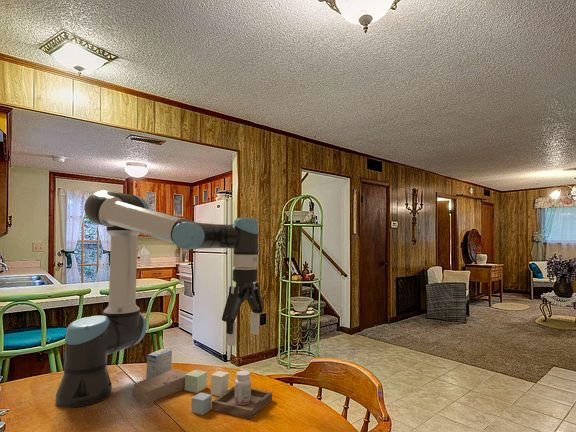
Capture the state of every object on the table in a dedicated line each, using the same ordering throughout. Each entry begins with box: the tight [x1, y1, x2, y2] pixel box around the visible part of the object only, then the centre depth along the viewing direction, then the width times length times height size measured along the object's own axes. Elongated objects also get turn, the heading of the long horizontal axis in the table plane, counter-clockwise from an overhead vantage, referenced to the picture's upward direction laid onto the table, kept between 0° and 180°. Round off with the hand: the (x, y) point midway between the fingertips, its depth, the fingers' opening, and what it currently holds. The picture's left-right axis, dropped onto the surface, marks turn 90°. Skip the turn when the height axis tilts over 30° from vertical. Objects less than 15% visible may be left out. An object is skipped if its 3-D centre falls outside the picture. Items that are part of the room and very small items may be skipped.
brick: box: [131, 368, 188, 404], centre depth 116 cm, size 16×8×5 cm, turn 143°
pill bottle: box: [234, 370, 252, 405], centre depth 108 cm, size 5×5×8 cm
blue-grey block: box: [190, 391, 213, 415], centre depth 104 cm, size 4×4×4 cm
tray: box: [211, 385, 273, 420], centre depth 107 cm, size 13×13×2 cm
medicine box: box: [145, 348, 173, 379], centre depth 128 cm, size 8×4×9 cm, turn 158°
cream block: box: [210, 370, 230, 397], centre depth 115 cm, size 4×4×6 cm
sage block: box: [184, 369, 208, 394], centre depth 119 cm, size 5×5×5 cm
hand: (243, 339), depth 109 cm, fingers open, 13 cm apart
